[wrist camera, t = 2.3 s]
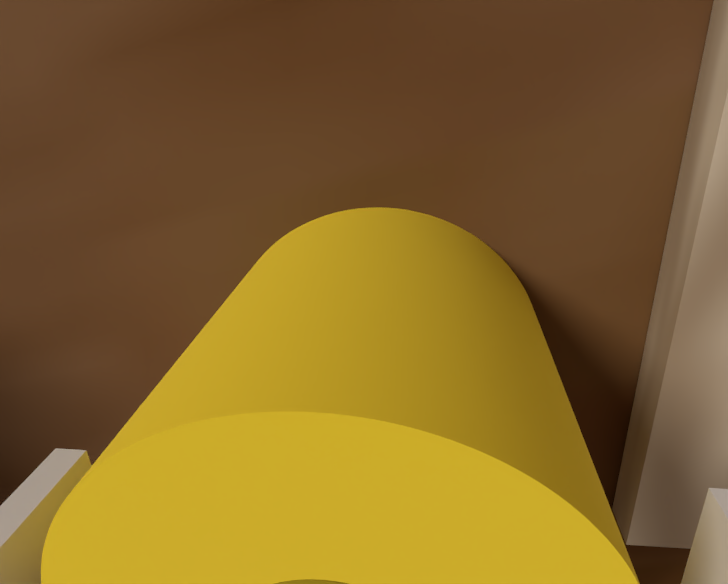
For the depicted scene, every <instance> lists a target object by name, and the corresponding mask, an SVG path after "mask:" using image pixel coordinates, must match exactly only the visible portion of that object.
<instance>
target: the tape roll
mask: <svg viewBox="0 0 728 584" xmlns="http://www.w3.org/2000/svg"><path fill="white" fill-rule="evenodd" d="M41 584H640V583H639V580H638V578H637V575H636V573H635V570H634V567H633V565H632V562H631V560H630V557H629V555H628V552H627V549H626V547H625V544H624V542H623V539H622V536H621V534H620V531H619V529H618V526H617V524H616V521H615V518H614V516H613V513H612V511H611V508H610V505H609V503H608V500H607V498H606V495H605V492H604V490H603V487H602V485H601V482H600V480H599V477H598V474H597V472H596V469H595V467H594V464H593V461H592V459H591V456H590V454H589V451H588V449H587V446H586V443H585V441H584V438H583V436H582V433H581V430H580V428H579V425H578V423H577V420H576V417H575V415H574V412H573V410H572V407H571V405H570V402H569V399H568V397H567V394H566V392H565V389H564V386H563V384H562V381H561V379H560V376H559V374H558V371H557V368H556V366H555V363H554V361H553V358H552V355H551V353H550V350H549V348H548V345H547V342H546V340H545V337H544V335H543V332H542V330H541V327H540V324H539V322H538V319H537V317H536V314H535V311H534V309H533V306H532V304H531V301H530V299H529V297H528V295H527V293H526V291H525V289H524V287H523V285H522V284H521V282H520V281H519V279H518V278H517V276H516V275H515V273H514V272H513V271H512V270H511V268H510V267H509V266H508V265H507V264H506V262H505V261H504V260H503V259H502V258H501V257H500V256H499V255H498V254H497V253H496V252H495V251H493V250H492V249H491V248H490V247H489V246H488V245H486V244H485V243H484V242H482V241H481V240H480V239H478V238H477V237H475V236H474V235H472V234H470V233H469V232H467V231H465V230H464V229H462V228H460V227H458V226H456V225H454V224H452V223H449V222H447V221H445V220H442V219H439V218H437V217H434V216H430V215H427V214H423V213H419V212H415V211H410V210H404V209H396V208H359V209H352V210H346V211H341V212H336V213H333V214H329V215H326V216H323V217H320V218H317V219H315V220H312V221H310V222H308V223H306V224H304V225H302V226H300V227H298V228H296V229H294V230H293V231H291V232H290V233H288V234H286V235H285V236H284V237H282V238H281V239H280V240H278V241H277V242H276V243H275V244H274V245H272V246H271V247H270V248H269V249H268V250H267V251H266V252H265V253H264V254H263V255H262V256H261V258H260V259H259V260H258V261H257V262H256V264H255V265H254V266H253V267H252V269H251V270H250V271H249V272H248V274H247V275H246V276H245V277H244V278H243V280H242V281H241V282H240V283H239V285H238V286H237V287H236V288H235V290H234V291H233V292H232V293H231V295H230V296H229V297H228V298H227V299H226V301H225V302H224V303H223V304H222V306H221V307H220V308H219V309H218V311H217V312H216V313H215V314H214V316H213V317H212V318H211V319H210V320H209V322H208V323H207V324H206V325H205V327H204V328H203V329H202V330H201V332H200V333H199V334H198V335H197V337H196V338H195V339H194V340H193V341H192V343H191V344H190V345H189V346H188V348H187V349H186V350H185V351H184V353H183V354H182V355H181V356H180V358H179V359H178V360H177V361H176V362H175V364H174V365H173V366H172V367H171V369H170V370H169V371H168V372H167V374H166V375H165V376H164V377H163V379H162V380H161V381H160V382H159V383H158V385H157V386H156V387H155V388H154V390H153V391H152V392H151V393H150V395H149V396H148V397H147V398H146V400H145V401H144V402H143V403H142V404H141V406H140V407H139V408H138V409H137V411H136V412H135V413H134V414H133V416H132V417H131V418H130V419H129V421H128V422H127V423H126V424H125V426H124V427H123V428H122V429H121V430H120V432H119V433H118V434H117V435H116V437H115V438H114V439H113V440H112V442H111V443H110V444H109V445H108V447H107V448H106V449H105V450H104V451H103V453H102V454H101V455H100V456H99V458H98V459H97V460H96V461H95V463H94V464H93V465H92V466H91V468H90V469H89V470H88V471H87V472H86V474H85V475H84V476H83V477H82V479H81V480H80V481H79V482H78V484H77V485H76V486H75V487H74V489H73V490H72V491H71V492H70V493H69V495H68V496H67V497H66V499H65V500H64V501H63V503H62V504H61V506H60V508H59V509H58V511H57V513H56V515H55V517H54V518H53V521H52V523H51V525H50V527H49V530H48V533H47V536H46V539H45V543H44V547H43V552H42V560H41Z"/></svg>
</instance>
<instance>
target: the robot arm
mask: <svg viewBox="0 0 728 584" xmlns="http://www.w3.org/2000/svg"><path fill="white" fill-rule="evenodd" d="M90 468H91V463H90V460H89V457H88V454H87V451H86V450H74V449H58V448H56V449H55V450H54V451H53V452H52V453H51V454H50V455H49V456H48V457H47V458H46V459H45V460H44V461H43V462H42V463H41V464H40V465H39V466H38V467H37V468H36V469H35V470H34V471H33V473H32V474H31V475H30V476H29V477H28V478H27V479H26V480H25V481H24V482H23V483H22V484H21V485H20V486H19V487H18V488H17V489H16V490H15V491H14V492H13V493H12V494H11V495H10V496H9V497H8V498H7V500H6V501H5V502H4V503H3V504H2V505H1V506H0V584H41V560H42V552H43V547H44V543H45V539H46V536H47V533H48V530H49V527H50V525H51V523H52V521H53V518H54V517H55V515H56V513H57V511H58V509H59V508H60V506H61V504H62V503H63V501H64V500H65V499H66V497H67V496H68V495H69V493H70V492H71V491H72V490H73V489H74V487H75V486H76V485H77V484H78V482H79V481H80V480H81V479H82V477H83V476H84V475H85V474H86V472H87V471H88V470H89V469H90ZM681 584H728V489H720V488H709V489H708V492H707V496H706V499H705V503H704V506H703V509H702V513H701V516H700V520H699V523H698V526H697V530H696V533H695V537H694V540H693V544H692V547H691V550H690V554H689V557H688V561H687V564H686V567H685V571H684V574H683V578H682V581H681Z"/></svg>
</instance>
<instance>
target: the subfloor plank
mask: <svg viewBox="0 0 728 584" xmlns="http://www.w3.org/2000/svg"><path fill="white" fill-rule="evenodd" d="M709 488H720V489H728V0H714V2H713V7H712V12H711V17H710V22H709V27H708V32H707V37H706V42H705V47H704V52H703V57H702V62H701V67H700V72H699V77H698V82H697V87H696V92H695V97H694V102H693V107H692V112H691V117H690V122H689V127H688V132H687V137H686V142H685V147H684V152H683V157H682V162H681V167H680V172H679V177H678V182H677V187H676V192H675V197H674V202H673V207H672V212H671V217H670V222H669V227H668V232H667V237H666V242H665V247H664V252H663V257H662V262H661V267H660V272H659V277H658V282H657V287H656V292H655V297H654V302H653V307H652V312H651V317H650V322H649V327H648V332H647V337H646V342H645V347H644V352H643V357H642V362H641V367H640V372H639V377H638V382H637V387H636V392H635V397H634V402H633V407H632V412H631V417H630V422H629V427H628V432H627V437H626V442H625V447H624V452H623V457H622V462H621V467H620V472H619V477H618V482H617V487H616V492H615V497H614V502H613V507H612V510H613V512H614V515H615V517H616V520H617V522H618V525H619V528H620V530H621V533H622V535H623V538H624V540H625V543H626V545H638V546H654V547H671V548H687V549H691V547H692V544H693V540H694V537H695V533H696V530H697V526H698V523H699V520H700V516H701V513H702V509H703V506H704V503H705V499H706V496H707V492H708V489H709Z"/></svg>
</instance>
